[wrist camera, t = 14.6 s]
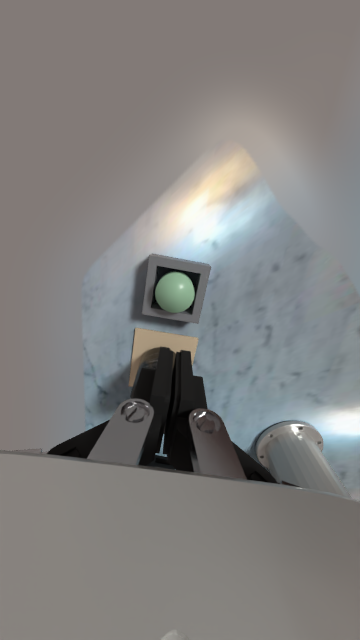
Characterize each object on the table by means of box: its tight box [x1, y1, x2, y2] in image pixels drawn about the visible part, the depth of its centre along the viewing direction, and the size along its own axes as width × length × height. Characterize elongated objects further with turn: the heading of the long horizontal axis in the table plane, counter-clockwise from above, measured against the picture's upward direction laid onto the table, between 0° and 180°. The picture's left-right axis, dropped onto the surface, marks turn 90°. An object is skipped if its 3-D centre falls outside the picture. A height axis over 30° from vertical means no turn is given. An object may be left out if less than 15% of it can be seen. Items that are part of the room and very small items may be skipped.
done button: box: [155, 271, 195, 313], centre depth 29 cm, size 5×5×3 cm
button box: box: [142, 254, 211, 324], centre depth 31 cm, size 8×8×3 cm
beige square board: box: [129, 328, 198, 387], centre depth 37 cm, size 11×10×1 cm
